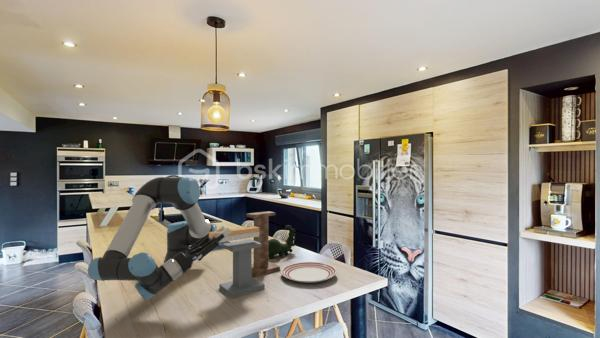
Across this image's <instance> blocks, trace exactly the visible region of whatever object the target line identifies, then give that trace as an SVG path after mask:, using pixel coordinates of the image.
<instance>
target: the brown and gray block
mask: <svg viewBox="0 0 600 338" xmlns="http://www.w3.org/2000/svg"><path fill="white" fill-rule="evenodd" d="M228 229H229V230H230V232H231V233H230V234H229V235H228V236H226V237H225V238H224V239H222V240H221V241H220V242H219V243H223V242H225V243H226V242H230V241H231V242H233V241H238V240H239V241H240V240H246V239H251V238H254V237H259V227H256V226H254V225H253V226H247V227H239V228H228ZM222 231H223V230H222ZM222 231H214V232H209V241H211V240H212V239H214V238H215V236H216V235H218V234H219V233H220V232H222Z"/></svg>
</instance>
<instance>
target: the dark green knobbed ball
mask: <svg viewBox="0 0 600 338" xmlns="http://www.w3.org/2000/svg"><path fill="white" fill-rule="evenodd" d="M287 229H288V236H287V240H286V241H285V243H282V242H280V241H279V240H278V239H276V238H271V239H268V259H269V258H270V259H274V258H275V256H276V255H279V256H280V257H283V256H284V255H285V256H288V255H289V253H292V252H293V249H292V247H295V246H296V244H295V243H294V241H296V238H295V237H296V236H297V234H296V233H295V232H296V231H297V230H296V229H295V228H293V227H292V225H290V224H287V225H285V227H284V230H287Z"/></svg>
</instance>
